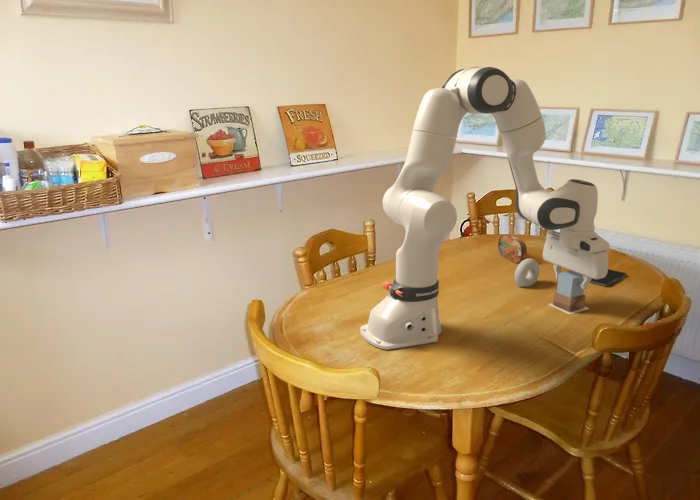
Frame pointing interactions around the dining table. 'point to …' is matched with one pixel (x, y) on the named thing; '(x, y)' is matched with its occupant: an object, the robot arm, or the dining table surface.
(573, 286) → the blue block
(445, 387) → the dining table surface
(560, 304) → the walnut block
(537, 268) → the donut
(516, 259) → the tin
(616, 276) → the phone
